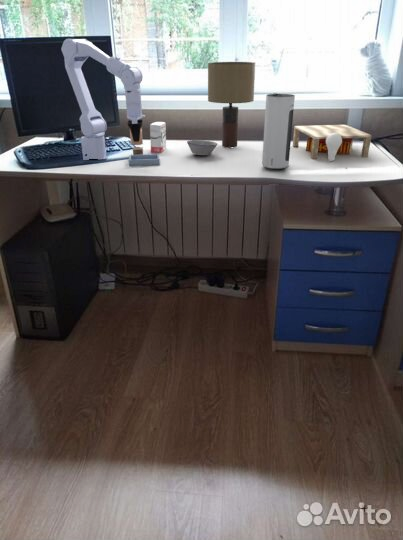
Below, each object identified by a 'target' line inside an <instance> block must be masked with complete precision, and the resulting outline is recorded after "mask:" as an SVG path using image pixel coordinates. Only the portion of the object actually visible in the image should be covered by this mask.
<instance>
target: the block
mask: <svg viewBox="0 0 403 540" xmlns="http://www.w3.org/2000/svg"><path fill="white" fill-rule="evenodd" d="M132 155H144V148H143V146H141V147H139V146H138V147H132Z"/></svg>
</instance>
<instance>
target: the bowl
mask: <svg viewBox="0 0 403 540" xmlns="http://www.w3.org/2000/svg"><path fill="white" fill-rule="evenodd" d="M186 144H187V145H188V147H189V149H190V152H191V153H192V154H193V155H197V156H210V155H211V154H212V153H213V152H214V150H215V149H216V147H217V146H218V145H219V144H218V143H217V142H215V141H211V140H204V139H200V140H199V139H191V140H187V141H186Z"/></svg>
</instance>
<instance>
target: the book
mask: <svg viewBox="0 0 403 540" xmlns="http://www.w3.org/2000/svg"><path fill="white" fill-rule="evenodd" d="M312 141H313V138H312V137H310V136H309V138H308V139H307V141H306V147H305V151H306V152H307V151H308V152H311V150H312ZM353 142H354V138H342V143H341V145H340V147H339V148H338V150H337V153H336V154H341V153H345V154H344V155H350V153H351V151H352V149H353ZM318 151H319V152H318V153H328V148H327V145H326V139H319V146H318Z"/></svg>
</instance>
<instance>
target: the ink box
mask: <svg viewBox="0 0 403 540" xmlns="http://www.w3.org/2000/svg"><path fill="white" fill-rule="evenodd" d="M149 133H150V134H149V135H150V136H149V137H150V153H152V154H153V153H154V154H162V153H163V152H165V150H167V135H166V133H167V129H166V122H164V121H155V122H152V123H150V125H149Z"/></svg>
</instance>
